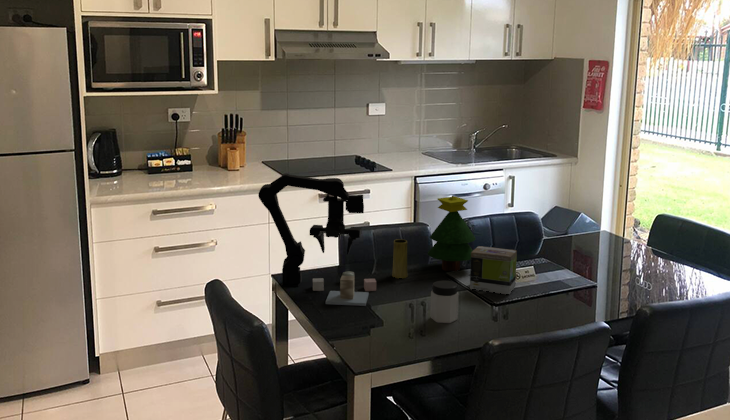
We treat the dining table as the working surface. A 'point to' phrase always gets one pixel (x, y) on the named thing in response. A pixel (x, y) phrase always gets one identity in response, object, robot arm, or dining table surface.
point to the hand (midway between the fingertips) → (335, 253)
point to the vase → (400, 259)
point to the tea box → (493, 269)
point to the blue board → (358, 299)
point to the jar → (444, 302)
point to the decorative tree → (452, 236)
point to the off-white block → (318, 284)
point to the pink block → (370, 284)
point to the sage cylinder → (348, 273)
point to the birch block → (347, 287)
